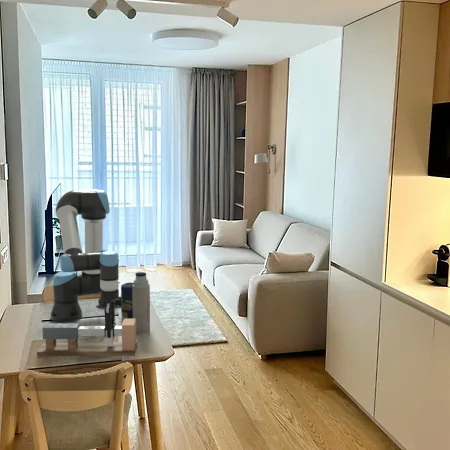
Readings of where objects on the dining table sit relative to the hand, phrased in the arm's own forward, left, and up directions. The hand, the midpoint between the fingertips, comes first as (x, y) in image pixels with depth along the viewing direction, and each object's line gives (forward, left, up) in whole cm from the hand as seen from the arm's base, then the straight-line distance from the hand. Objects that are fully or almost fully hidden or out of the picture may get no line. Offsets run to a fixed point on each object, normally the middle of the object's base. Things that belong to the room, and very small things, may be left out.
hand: (110, 341), depth 217 cm
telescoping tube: (0, -5, +3) cm, 6 cm away
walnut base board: (0, -9, -4) cm, 10 cm away
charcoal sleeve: (0, -20, +2) cm, 20 cm away
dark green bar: (-60, -9, -5) cm, 60 cm away
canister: (-42, +4, -4) cm, 42 cm away
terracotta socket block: (0, +8, -2) cm, 8 cm away
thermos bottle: (-23, +11, -4) cm, 26 cm away
